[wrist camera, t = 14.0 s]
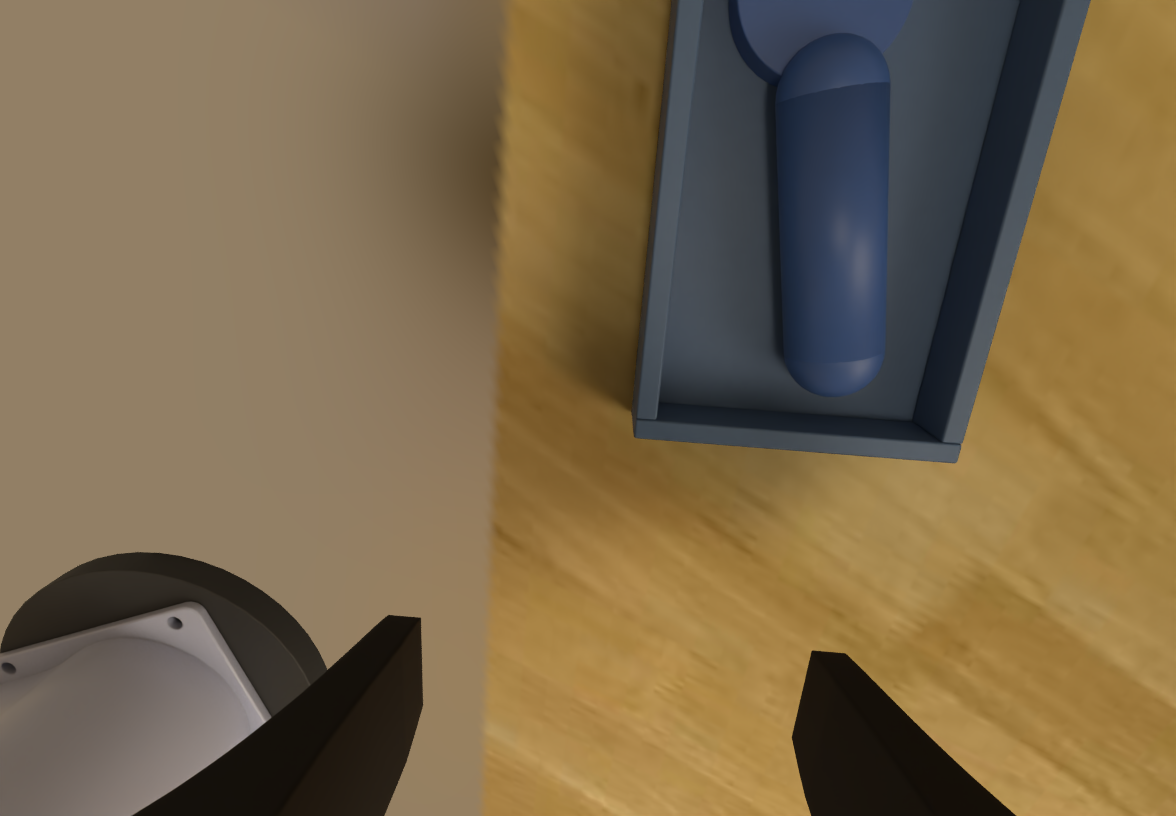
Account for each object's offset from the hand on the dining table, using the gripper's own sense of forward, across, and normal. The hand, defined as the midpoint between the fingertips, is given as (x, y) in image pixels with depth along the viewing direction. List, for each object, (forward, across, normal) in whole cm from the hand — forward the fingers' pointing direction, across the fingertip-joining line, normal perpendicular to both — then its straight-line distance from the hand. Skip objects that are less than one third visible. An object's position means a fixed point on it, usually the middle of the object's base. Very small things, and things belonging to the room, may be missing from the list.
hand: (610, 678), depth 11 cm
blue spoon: (+9, -5, -10) cm, 14 cm away
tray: (+9, -5, -10) cm, 14 cm away
